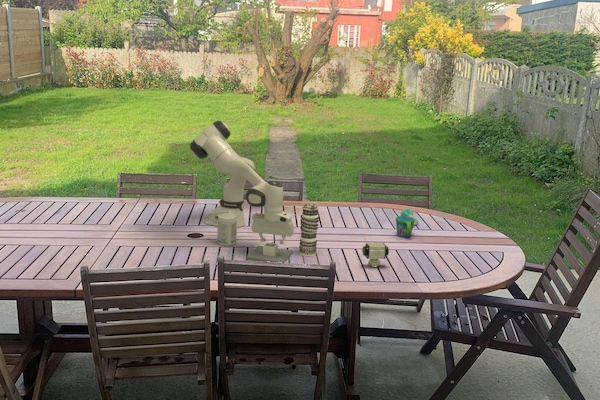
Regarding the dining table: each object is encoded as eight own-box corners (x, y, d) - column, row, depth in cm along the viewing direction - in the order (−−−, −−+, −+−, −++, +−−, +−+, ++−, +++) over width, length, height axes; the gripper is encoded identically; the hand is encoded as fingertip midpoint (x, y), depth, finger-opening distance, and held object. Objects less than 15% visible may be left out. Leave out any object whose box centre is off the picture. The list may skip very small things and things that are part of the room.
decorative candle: (310, 258, 294) (314, 208, 287) (294, 253, 298) (297, 205, 292) (320, 253, 301) (323, 204, 295) (304, 249, 306) (307, 201, 300)
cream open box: (262, 254, 291) (263, 245, 290) (266, 250, 297) (267, 241, 295) (274, 256, 290) (274, 246, 288) (277, 252, 295) (278, 243, 294)
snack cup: (391, 231, 344) (393, 213, 342) (409, 231, 345) (411, 214, 342) (396, 239, 329) (398, 222, 327) (415, 240, 330) (417, 222, 327)
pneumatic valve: (360, 264, 289) (363, 240, 286) (384, 264, 291) (386, 240, 288) (363, 268, 284) (366, 244, 281) (387, 268, 286) (390, 244, 283)
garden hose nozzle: (409, 223, 348) (430, 214, 361) (386, 213, 360) (407, 205, 372) (408, 234, 351) (429, 225, 364) (385, 224, 363) (406, 216, 375)
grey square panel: (246, 259, 287) (247, 247, 285) (258, 247, 304) (258, 236, 302) (282, 264, 283) (283, 252, 281) (292, 252, 300) (293, 240, 298)
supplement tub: (232, 239, 314) (233, 212, 310) (238, 245, 306) (239, 217, 302) (214, 241, 310) (215, 213, 306) (220, 247, 301) (221, 219, 298)
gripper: (250, 214, 288) (249, 241, 291) (291, 219, 283) (290, 247, 287) (254, 210, 294) (253, 237, 297) (295, 215, 289) (293, 243, 293)
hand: (271, 242), depth 292 cm, fingers open, 8 cm apart
